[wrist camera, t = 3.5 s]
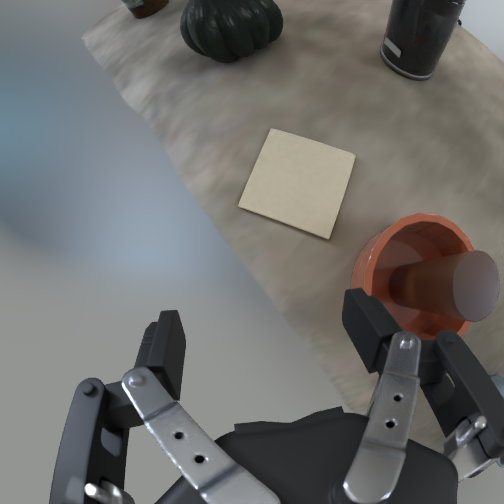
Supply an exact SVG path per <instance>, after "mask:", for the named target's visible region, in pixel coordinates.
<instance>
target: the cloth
mask: <svg viewBox="0 0 504 504" xmlns="http://www.w3.org/2000/svg"><path fill="white" fill-rule="evenodd" d="M355 158H356V155H354V154H351V153H349V152H346V151H343V150H340V149H338V148H335V147H332V146H329V145H326V144H323V143H320V142H317V141H314V140H310V139H307V138H304V137H301V136H297V135H294V134H290V133H287V132H283V131H280V130H276V129H272V128H271V130H270V132H269V135H268V137H267V139H266V141H265V144H264V146H263V148H262V151H261V153H260V155H259V157H258V160H257V162H256V164H255V167H254V169H253V171H252V174H251V176H250V178H249V181H248V183H247V185H246V188H245V190H244V192H243V195H242V197H241V200H240V202H239V204H238V207H240V208H243V209H246V210H249V211H251V212H254V213H257V214H260V215H263V216H266V217H268V218H271V219H274V220H277V221H279V222H282V223H285V224H288V225H290V226H293V227H296V228H298V229H301V230H304V231H306V232H309V233H312V234H314V235H317V236H320V237H322V238H325V239H327V240H329V238H330V235H331V232H332V230H333V227H334V224H335V221H336V218H337V215H338V212H339V209H340V206H341V203H342V200H343V197H344V194H345V191H346V187H347V184H348V181H349V178H350V174H351V171H352V168H353V164H354V161H355Z"/></svg>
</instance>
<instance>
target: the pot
mask: <svg viewBox="0 0 504 504" xmlns="http://www.w3.org/2000/svg"><path fill="white" fill-rule="evenodd" d="M470 251H474V249H473V247H472V245H471V243H470V241H469V239H468V238H467V236H466V235H465V234H464V233H463V232H462V231H461V230H460V229H459V228H458V227H457V226H456V225H455V224H454V223H453V222H451V221H449V220H447V219H445V218H443V217H441V216H439V215H434V214H425V213H418V214H414V215H411V216H407V217H403V218H401V219H400V220H398V221H397V222H395V223H394V224H392V225H390V226H389V227H387V228H386V229H384V230H383V231H381V232H380V233H379V234H377V235H376V236H374V237H373V238H372V239H370V240H369V242H368V243H367V244H366V245H365V247H364V248H363V249H362V251H361V252H360V254H359V256H358V258H357V260H356V262H355V265H354V268H353V272H352V277H351V289H354V288H359V287H361V288H362V289H363V290H364V291H365V292H366V294H367V295H368V296H371V295H372V296H373V297H375V298H377V299H378V300H380V301H381V303H382V304H383V305H384V306H385V308H386V309H387V310H388V311H389V314H391V315H392V317H393V318H394V319H395V321H396V322H397V323H398V324H399V326H400V327H401V328H402V330H403V331H409V332H412V333H414V334H416V335H417V336H418V337H419V338H420V340H435V338H436V336H437V334H438V333H439V332H440V331H442V330H450V331H453V332H455V333H457V334H458V335H459V336H460V337H461V336H463V334H464V333H465V331H466V330H467V328H468V326H469V325H470V323H471V322H470V321H466V320H461V319H457V318H452V317H447V316H443V315H438V314H434V313H429V312H425V311H421V310H416V309H412V308H408V307H403V306H400V305H398V304H397V303H395V302H394V301H393V299H392V298H391V296H390V293H389V280H390V277H391V275H392V273H393V272H394V270H395V269H396V268H398V267H399V266H401V265H404V264H410V263H415V262H420V261H426V260H431V259H436V258H441V257H446V256H451V255H456V254H461V253H465V252H470Z"/></svg>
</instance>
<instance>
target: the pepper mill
mask: <svg viewBox="0 0 504 504" xmlns="http://www.w3.org/2000/svg"><path fill="white" fill-rule="evenodd" d="M389 293H390V296H391V298H392V299H393V301H394V302H395V303H397V304H398V305H400V306H403V307H408V308H412V309H416V310H421V311H425V312H429V313H434V314H438V315H443V316H447V317H452V318H457V319H461V320H466V321H470V322H477V321H480V320H482V319H484V318H485V317H486V316H487V315H489V313H490V312H491V311H492V309H493V308H494V306H495V303H496V301H497V298H498V294H499V274H498V270H497V267H496V265H495V263H494V261H493V260H492V258H491V257H490V256H489V255H488V254H486V253H485V252H483V251H478V250H475V251H470V252H465V253H461V254H456V255H451V256H446V257H441V258H436V259H431V260H426V261H420V262H415V263H410V264H404V265H401V266H399V267H398V268H396V269H395V270H394V272H393V273H392V275H391V277H390V280H389Z"/></svg>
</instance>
